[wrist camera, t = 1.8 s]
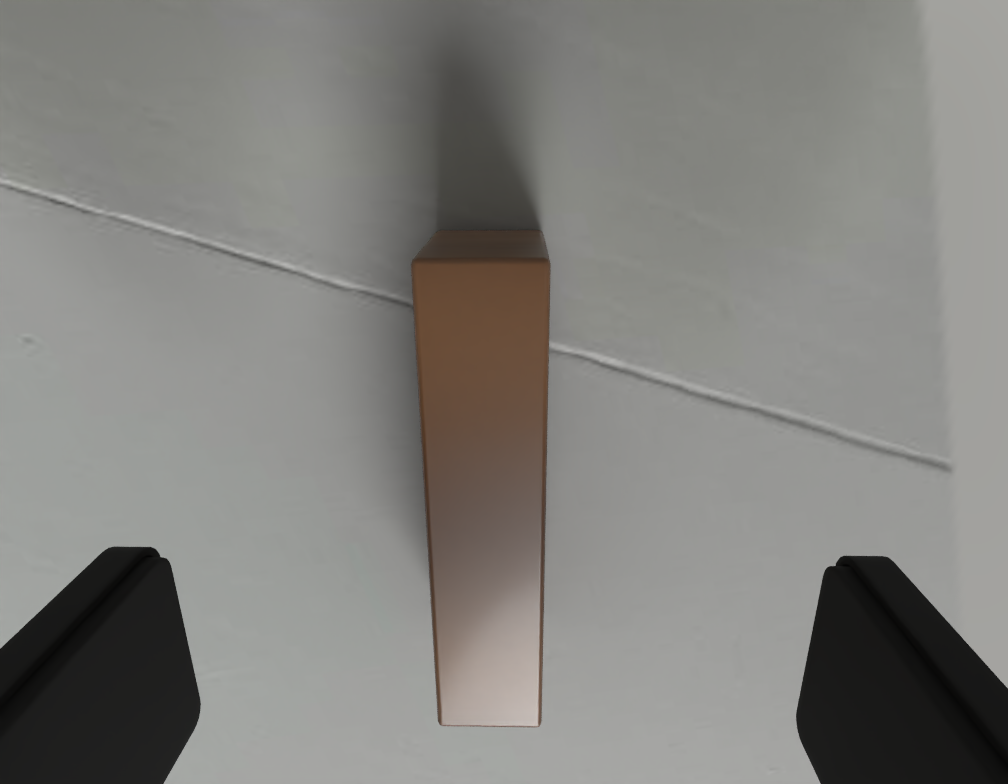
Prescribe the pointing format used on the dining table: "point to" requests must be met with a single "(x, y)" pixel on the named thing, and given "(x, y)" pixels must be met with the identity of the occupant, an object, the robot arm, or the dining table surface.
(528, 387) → the brown wooden block
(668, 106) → the dining table surface
